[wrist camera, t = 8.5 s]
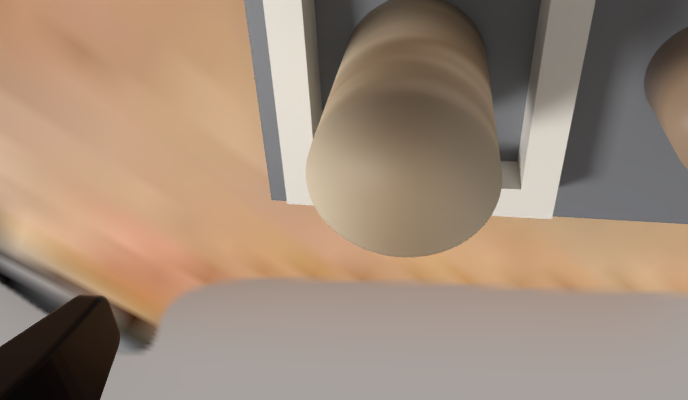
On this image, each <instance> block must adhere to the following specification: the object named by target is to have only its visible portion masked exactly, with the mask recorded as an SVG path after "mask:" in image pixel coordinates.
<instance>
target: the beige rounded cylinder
mask: <svg viewBox="0 0 688 400" xmlns="http://www.w3.org/2000/svg"><path fill="white" fill-rule="evenodd" d="M306 182H307V188H308V192H309V195H310V198H311V200H312V202H313V204H314V206H315V208H316V210H317V212H318V213H319V214H320V216H321V217H322V219H323V220H324V221H325V222H326V223H327V224H328V226H329V227H330V228H332V229H333V230H334V231H335V232H336V233H337V234H339V235H340V236H341V237H343V238H344V239H346V240H347V241H349V242H351V243H353V244H354V245H356V246H358V247H361V248H363V249H365V250H368V251H371V252H374V253H378V254H382V255H387V256H394V257H420V256H428V255H432V254H437V253H440V252H443V251H446V250H449V249H451V248H453V247H456V246H458V245H460V244H461V243H463V242H465V241H466V240H468V239H469V238H470V237H472V236H473V235H474V234H476V233H477V232H478V231H479V230H480V229H481V228H482V227H483V226H484V225H485V223H486V222H487V221H488V219H489V218H490V217H491V215H492V213H493V211H494V210H495V208H496V206H497V203H498V200H499V197H500V193H501V188H502V168H501V161H500V153H499V146H498V138H497V131H496V124H495V116H494V109H493V101H492V94H491V86H490V79H489V71H488V64H487V56H486V49H485V45H484V42H483V39H482V37H481V34H480V32H479V31H478V29H477V27H476V26H475V24H474V23H473V22H472V21H471V19H470V18H469V17H468V16H467V15H466V14H465V13H464V12H462V11H461V10H460V9H458V8H457V7H455V6H454V5H452V4H450V3H448V2H446V1H443V0H390V1H387V2H385V3H383V4H381V5H379V6H378V7H376V8H375V9H373V10H372V11H370V12H369V13H368V14H367V15H366V16H365V17H364V18H363V19H362V20H361V21H360V23H359V24H358V25H357V27H356V28H355V30H354V31H353V33H352V35H351V38H350V40H349V42H348V45H347V48H346V51H345V53H344V56H343V59H342V62H341V64H340V67H339V70H338V73H337V75H336V78H335V81H334V84H333V86H332V89H331V92H330V94H329V97H328V100H327V103H326V105H325V108H324V111H323V114H322V116H321V119H320V122H319V125H318V127H317V130H316V133H315V136H314V138H313V141H312V144H311V147H310V150H309V153H308V157H307V162H306Z"/></svg>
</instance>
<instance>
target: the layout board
mask: <svg viewBox="0 0 688 400" xmlns="http://www.w3.org/2000/svg"><path fill="white" fill-rule="evenodd" d="M387 1H390V0H244V3H245V10H246V17H247V25H248V32H249V39H250V46H251V54H252V61H253V68H254V75H255V83H256V90H257V97H258V104H259V112H260V119H261V126H262V133H263V141H264V148H265V155H266V162H267V170H268V177H269V184H270V192H271V199H272V200H280V201H287V204H300V205H314V204H313V202H312V200H311V198H310V195H309V192H308V188H307V182H306V162H307V157H308V153H309V150H310V147H311V144H312V141H313V138H314V136H315V133H316V130H317V127H318V125H319V122H320V119H321V116H322V114H323V111H324V108H325V105H326V103H327V100H328V97H329V94H330V92H331V89H332V86H333V84H334V81H335V78H336V75H337V73H338V70H339V67H340V64H341V62H342V59H343V56H344V53H345V51H346V48H347V45H348V42H349V40H350V38H351V35H352V33H353V31H354V30H355V28H356V27H357V25H358V24H359V23H360V21H361V20H362V19H363V18H364V17H365V16H366V15H367V14H368V13H369V12H370V11H372V10H373V9H375V8H376V7H378V6H379V5H381V4H383V3H385V2H387ZM443 1H446V2H448V3H450V4H452V5H454V6H455V7H457V8H458V9H460V10H461V11H462V12H464V13H465V14H466V15H467V16H468V17H469V18H470V19H471V21H472V22H473V23H474V24H475V26H476V27H477V29H478V31H479V32H480V34H481V37H482V39H483V42H484V45H485V49H486V56H487V64H488V71H489V79H490V86H491V94H492V101H493V109H494V116H495V124H496V131H497V138H498V146H499V153H500V161H501V168H502V188H501V193H500V197H499V200H498V203H497V206H496V208H495V210H494V211H493V213H492V215H491V216H505V217H522V218H539V219H552V216H557V217H575V218H592V219H609V220H627V221H644V222H661V223H678V224H688V0H443Z"/></svg>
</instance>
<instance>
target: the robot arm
mask: <svg viewBox="0 0 688 400" xmlns="http://www.w3.org/2000/svg"><path fill="white" fill-rule="evenodd" d="M119 342H120V330H119V327H118V325H117V322H116V319H115V317H114V314H113V311H112V309H111V306H110V303H109V301H108V300H107V299H106V298H105V297H104V296H98V295H86V294H83V295H79V296H76V297H75V298H73V299H72V300H70V301H69V302H67V303H66V304H64V305H63V306H61V307H59V308H58V309H56V310H55V311H53V312H52V313H50V314H49V315H47V316H46V317H45V318H43V319H41V320H40V321H38V322H37V323H35V324H34V325H32V326H31V327H29V328H28V329H26V330H25V331H24V332H22V333H20V334H19V335H17V336H16V337H14V338H13V339H11V340H10V341H8V342H7V343H5V344H4V345H2V346H1V347H0V400H100V398H101V395H102V392H103V389H104V387H105V384H106V381H107V378H108V375H109V372H110V369H111V366H112V363H113V361H114V358H115V355H116V352H117V349H118V346H119Z"/></svg>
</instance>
